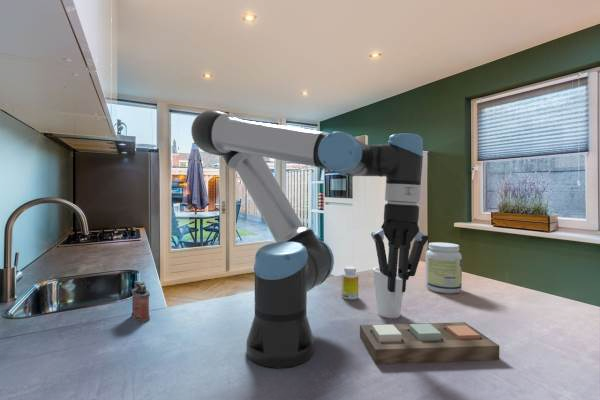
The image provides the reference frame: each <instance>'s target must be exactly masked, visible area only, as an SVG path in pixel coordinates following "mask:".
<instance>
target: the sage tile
mask: <svg viewBox="0 0 600 400" xmlns="http://www.w3.org/2000/svg"><path fill="white" fill-rule="evenodd" d="M409 324H410V325H409V332H410V333H411V334H412V335H413V336H414V337H415V338H416V340H417V341H440V340H441V333H440V332H439V331H438V330H437V329H436V328H434V327H433V326H432V325H431V324H416V323H409Z"/></svg>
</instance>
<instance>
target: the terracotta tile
mask: <svg viewBox="0 0 600 400" xmlns="http://www.w3.org/2000/svg"><path fill="white" fill-rule="evenodd" d="M446 331H447V332H448V333H449V334H451V335H452V336H453V337H454V338H456V339H457V340H474V339H480V335H479V334H478V333H476V332H475V331H473V330H472V329H470V328H469V327H468V326H466V325H463V326H446Z"/></svg>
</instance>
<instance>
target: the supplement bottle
mask: <svg viewBox="0 0 600 400" xmlns="http://www.w3.org/2000/svg"><path fill="white" fill-rule="evenodd" d="M343 269H344V270H343V272H342V273H341V297H342V298H343V299H345V300H356V299H358V297H359V273H357V268H356V266H351V265H350V266H349V265H348V266H344V268H343Z"/></svg>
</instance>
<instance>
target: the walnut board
mask: <svg viewBox="0 0 600 400" xmlns="http://www.w3.org/2000/svg"><path fill="white" fill-rule="evenodd" d="M410 324H411V323H387V324H384V323H383V324H381V323H380V324H379V323H378V324H374V325H394V326H395V327H396V328H397V330H398V331H399V332H400V333H401V334H402V342H378V341H377V340H376V338H375V337H374V335H373V334H372V325H373V324H359V338H360V340H361V342H362V344H363V346H364V347H365V349H366V351H367V352H368V354H369V355H370V357H371V359H372V361H373V362H374V364H375V365H381V364H382V365H383V364H411V363H412V364H414V363H437V362H438V363H440V362H441V363H442V362H468V361H469V362H471V361H496V360H497V361H498V360H500V345H499V344H498V343H496V342H494V341H493V340H492V339H490V338H489V337H487V336H486V335H485V334H483V333H481V332H480V331H478V330H477V329H476V328H474V327H473V326H471V325H470V324H468V323H467V322H457V321H456V322H424V323H423V322H422V323H421V322H420V323H419V322H417V323H415V324H431V325H432V326H433V327H434V328H436V329H437V330H438V331H439V332H440V333H441V340H440V341H417V340H416V338H415V337H414V336H413V335H412V334H411V333H410V332H409V325H410ZM463 325H466V326H468V327H469V328H470V329H472V330H473V331H475V332H476V333H478V334H479V335H480V339H474V340H457V339H456V338H454V337H453V336H452V335H451V334H449V333H448V332H447V331H446V326H463Z"/></svg>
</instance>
